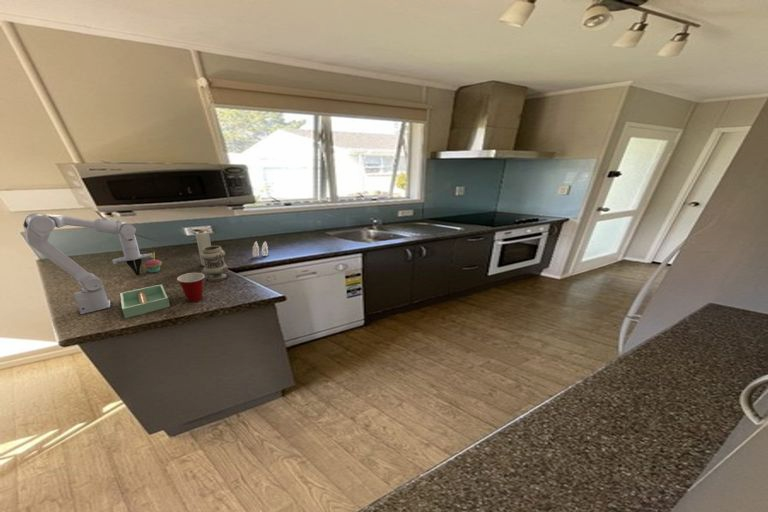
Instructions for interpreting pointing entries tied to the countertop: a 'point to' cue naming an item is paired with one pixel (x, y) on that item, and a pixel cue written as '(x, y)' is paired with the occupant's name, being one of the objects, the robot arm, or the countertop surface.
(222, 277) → the apothecary jar
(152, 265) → the cupcake
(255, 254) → the shaker set
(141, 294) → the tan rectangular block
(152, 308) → the bin
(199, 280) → the plastic cup
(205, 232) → the paper towel roll
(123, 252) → the robot arm
